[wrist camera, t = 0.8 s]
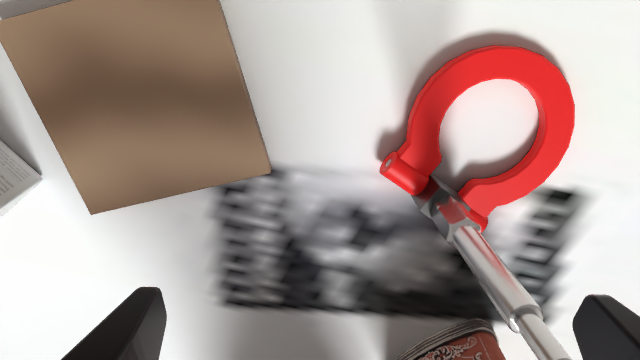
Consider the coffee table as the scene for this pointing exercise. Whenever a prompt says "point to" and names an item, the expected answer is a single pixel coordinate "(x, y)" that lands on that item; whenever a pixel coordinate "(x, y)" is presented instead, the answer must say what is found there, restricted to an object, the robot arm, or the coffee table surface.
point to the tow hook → (485, 194)
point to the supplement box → (14, 178)
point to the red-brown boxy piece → (458, 344)
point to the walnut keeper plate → (138, 96)
